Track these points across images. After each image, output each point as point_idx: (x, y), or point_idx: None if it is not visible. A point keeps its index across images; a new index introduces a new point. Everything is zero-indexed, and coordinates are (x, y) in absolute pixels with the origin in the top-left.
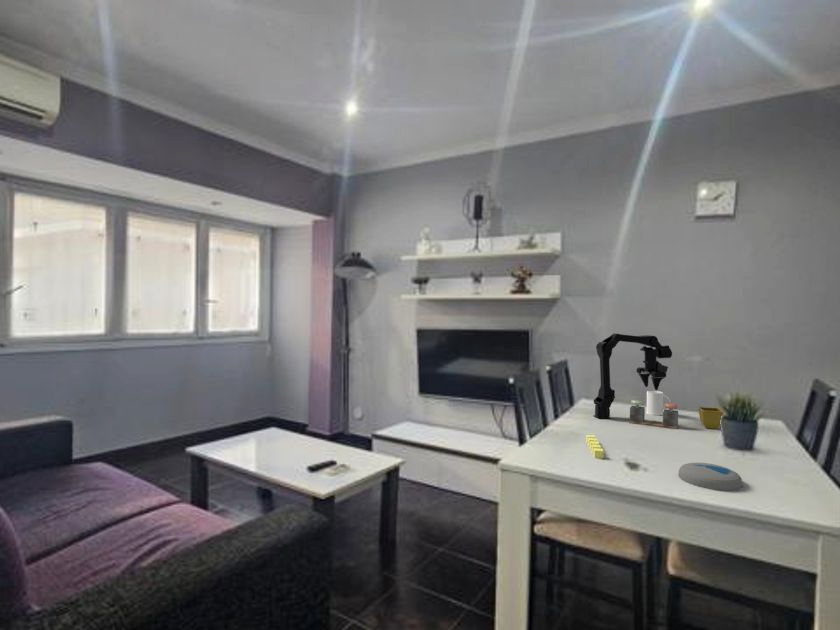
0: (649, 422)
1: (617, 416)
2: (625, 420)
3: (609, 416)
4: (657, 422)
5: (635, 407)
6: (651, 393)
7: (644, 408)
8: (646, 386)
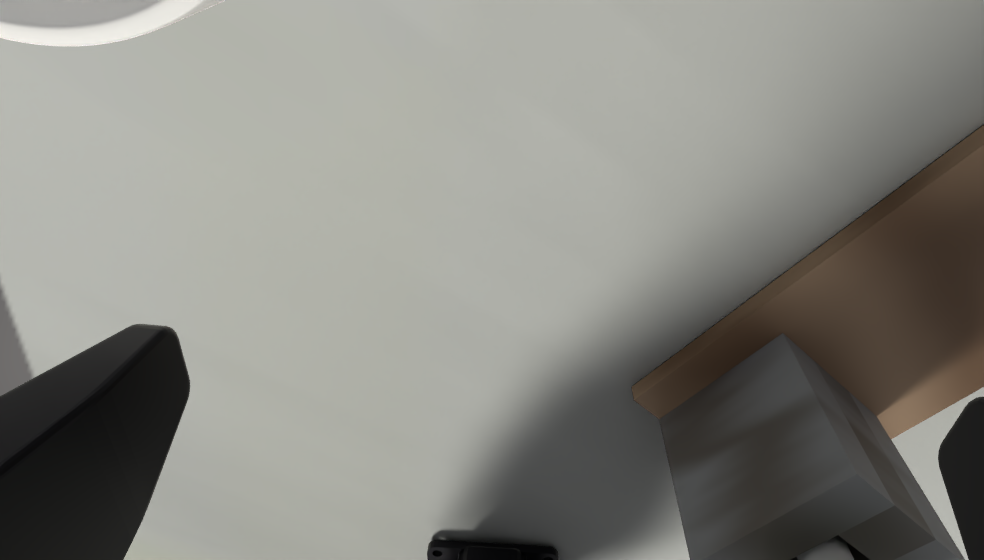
0: (906, 342)
1: (453, 443)
2: (647, 462)
3: (521, 554)
4: (960, 247)
5: (775, 555)
6: (207, 2)
7: (862, 470)
8: (176, 381)
